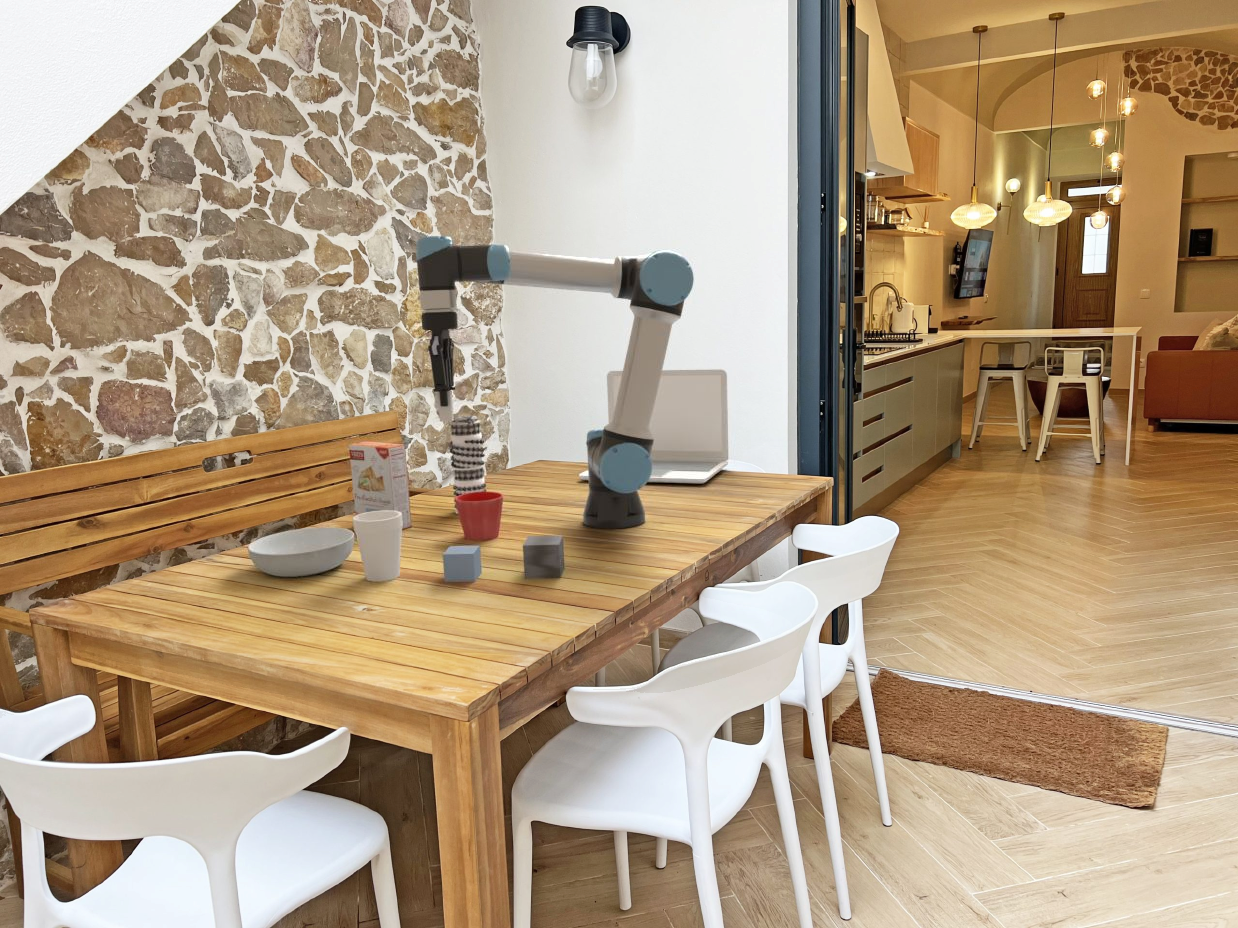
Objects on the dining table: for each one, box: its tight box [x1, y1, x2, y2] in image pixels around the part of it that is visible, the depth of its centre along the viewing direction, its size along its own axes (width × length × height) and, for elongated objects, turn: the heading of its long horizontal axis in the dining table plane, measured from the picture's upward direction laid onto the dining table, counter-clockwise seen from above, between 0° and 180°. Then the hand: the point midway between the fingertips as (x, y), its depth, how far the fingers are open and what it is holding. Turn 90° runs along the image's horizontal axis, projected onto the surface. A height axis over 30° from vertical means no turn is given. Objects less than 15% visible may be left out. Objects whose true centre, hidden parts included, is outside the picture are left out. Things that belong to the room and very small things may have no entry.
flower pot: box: [454, 491, 504, 542], centre depth 212 cm, size 11×11×10 cm
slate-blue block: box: [442, 545, 483, 583], centre depth 180 cm, size 6×6×6 cm
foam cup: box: [352, 510, 403, 583], centre depth 181 cm, size 10×9×13 cm
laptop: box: [578, 369, 729, 484], centre depth 282 cm, size 40×31×31 cm
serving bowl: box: [247, 526, 356, 578], centre depth 190 cm, size 21×21×7 cm
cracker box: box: [348, 440, 413, 531], centre depth 225 cm, size 14×6×21 cm, turn 57°
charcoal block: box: [522, 535, 566, 580], centre depth 181 cm, size 7×7×7 cm
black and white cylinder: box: [448, 414, 487, 515], centre depth 238 cm, size 9×9×25 cm
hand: (446, 420), depth 199 cm, fingers closed
